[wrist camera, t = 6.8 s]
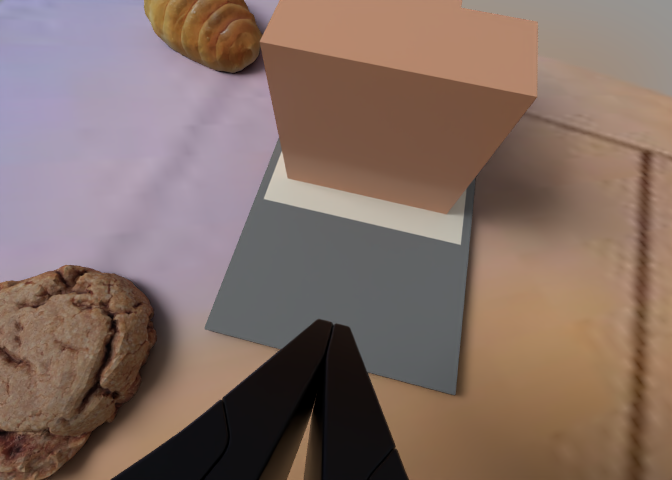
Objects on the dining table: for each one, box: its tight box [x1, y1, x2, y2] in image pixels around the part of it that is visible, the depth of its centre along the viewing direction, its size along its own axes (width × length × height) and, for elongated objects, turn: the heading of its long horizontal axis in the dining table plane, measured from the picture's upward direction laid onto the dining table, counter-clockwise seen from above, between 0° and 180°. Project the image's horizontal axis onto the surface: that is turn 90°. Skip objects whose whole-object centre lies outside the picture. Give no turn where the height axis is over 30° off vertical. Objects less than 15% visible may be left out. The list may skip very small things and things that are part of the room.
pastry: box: [144, 0, 262, 73], centre depth 24 cm, size 9×7×4 cm
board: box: [204, 139, 476, 395], centre depth 21 cm, size 22×13×1 cm, turn 166°
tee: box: [260, 0, 538, 214], centre depth 18 cm, size 12×10×9 cm
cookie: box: [0, 265, 157, 480], centre depth 15 cm, size 10×11×3 cm
